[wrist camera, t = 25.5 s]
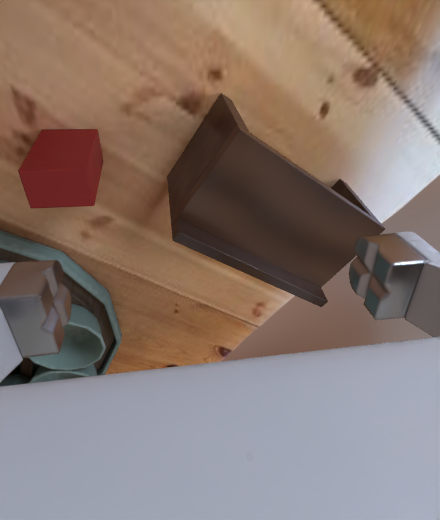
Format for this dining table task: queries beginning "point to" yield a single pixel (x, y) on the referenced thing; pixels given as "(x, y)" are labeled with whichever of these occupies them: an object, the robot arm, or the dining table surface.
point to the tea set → (79, 326)
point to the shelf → (262, 209)
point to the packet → (63, 169)
